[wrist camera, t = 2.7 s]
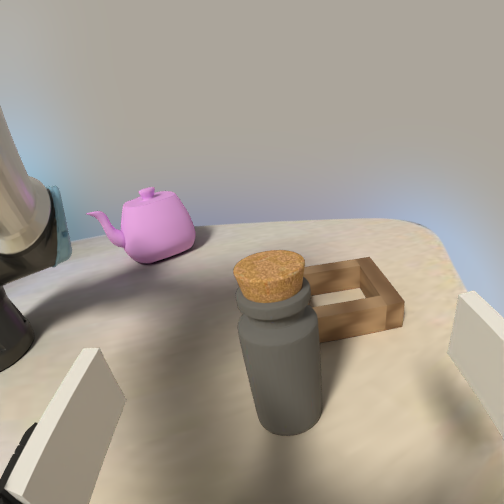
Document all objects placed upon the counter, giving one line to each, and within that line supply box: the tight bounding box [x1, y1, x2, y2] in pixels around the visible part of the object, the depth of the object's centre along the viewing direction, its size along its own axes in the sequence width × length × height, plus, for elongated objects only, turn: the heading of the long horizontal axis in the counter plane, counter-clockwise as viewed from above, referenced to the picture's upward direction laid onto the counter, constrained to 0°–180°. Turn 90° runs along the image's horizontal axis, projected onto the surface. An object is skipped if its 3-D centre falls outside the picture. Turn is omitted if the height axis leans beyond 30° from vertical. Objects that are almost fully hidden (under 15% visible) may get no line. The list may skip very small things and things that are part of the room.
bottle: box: [233, 250, 322, 436], centre depth 24 cm, size 6×6×15 cm
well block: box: [303, 257, 405, 343], centre depth 40 cm, size 13×13×4 cm
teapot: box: [86, 187, 195, 263], centre depth 70 cm, size 23×21×15 cm
